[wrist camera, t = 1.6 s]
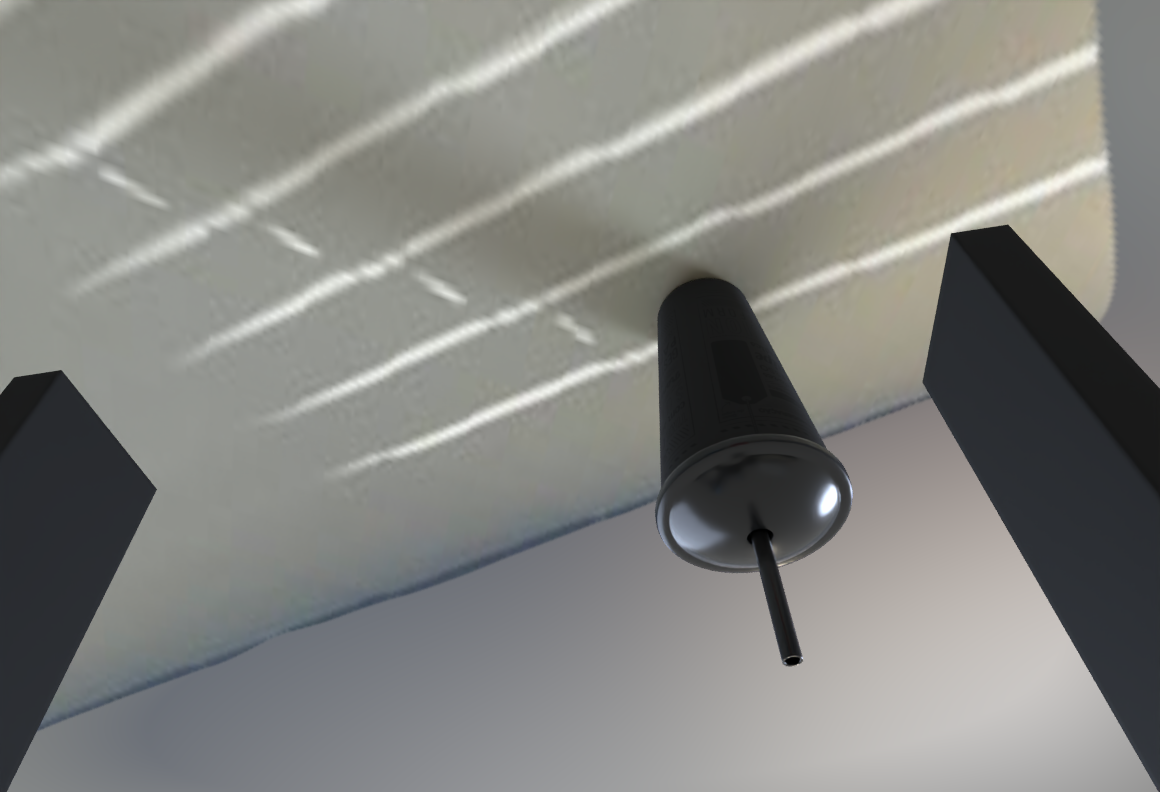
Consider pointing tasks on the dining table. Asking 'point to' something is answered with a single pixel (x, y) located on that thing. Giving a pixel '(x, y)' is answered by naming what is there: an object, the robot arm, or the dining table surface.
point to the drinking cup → (739, 450)
